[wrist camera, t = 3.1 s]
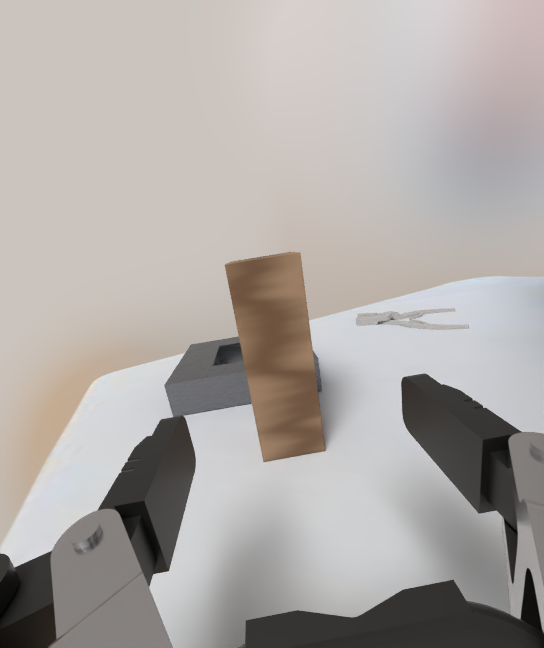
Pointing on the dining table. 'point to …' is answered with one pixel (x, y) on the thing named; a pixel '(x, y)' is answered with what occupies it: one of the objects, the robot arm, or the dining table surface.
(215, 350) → the socket block
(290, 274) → the walnut peg
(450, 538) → the dining table surface
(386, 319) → the pliers
